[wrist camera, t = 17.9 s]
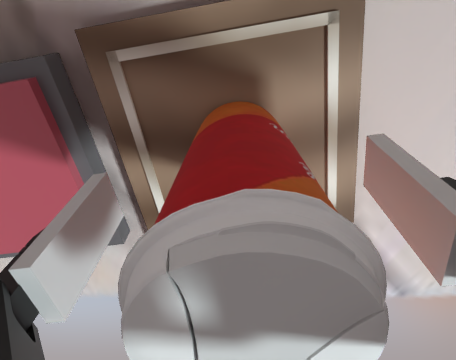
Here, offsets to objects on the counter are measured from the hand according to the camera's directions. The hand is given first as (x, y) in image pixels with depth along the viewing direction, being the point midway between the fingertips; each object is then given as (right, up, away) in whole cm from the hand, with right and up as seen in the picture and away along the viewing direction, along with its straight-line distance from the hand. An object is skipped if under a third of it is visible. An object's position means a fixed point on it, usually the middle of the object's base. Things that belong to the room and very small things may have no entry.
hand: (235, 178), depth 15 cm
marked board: (0, +3, +6) cm, 6 cm away
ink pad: (-17, +1, +7) cm, 18 cm away
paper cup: (0, +3, +5) cm, 5 cm away
